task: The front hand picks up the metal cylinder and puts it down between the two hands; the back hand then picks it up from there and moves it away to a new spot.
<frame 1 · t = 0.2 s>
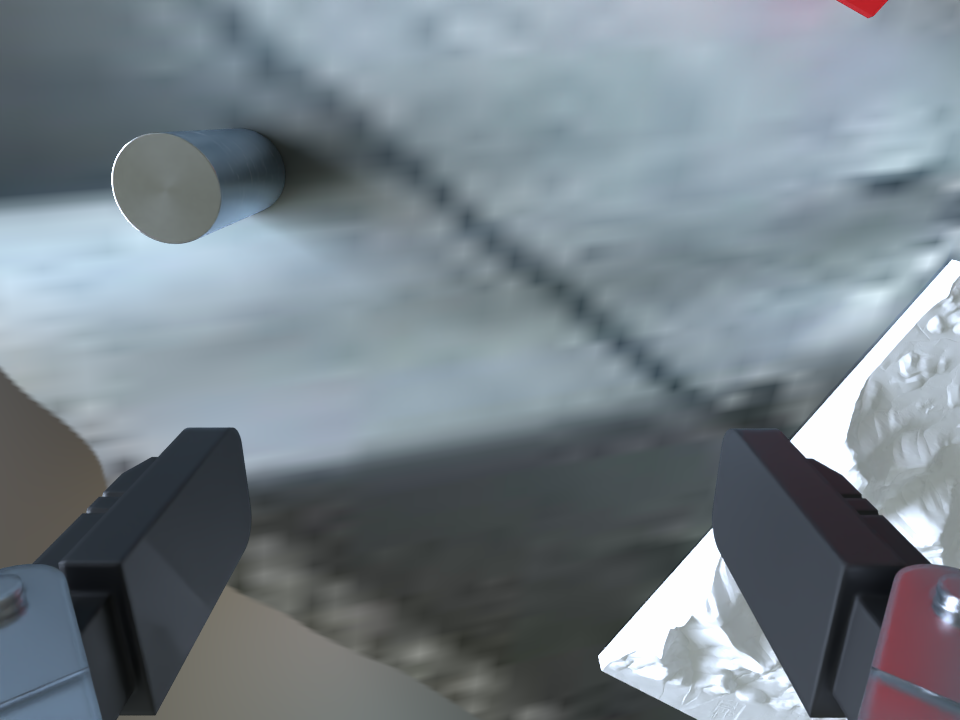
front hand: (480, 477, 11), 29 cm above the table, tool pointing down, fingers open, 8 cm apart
relief map: (902, 570, 46), on the table
metal cylinder: (244, 171, 37), on the table
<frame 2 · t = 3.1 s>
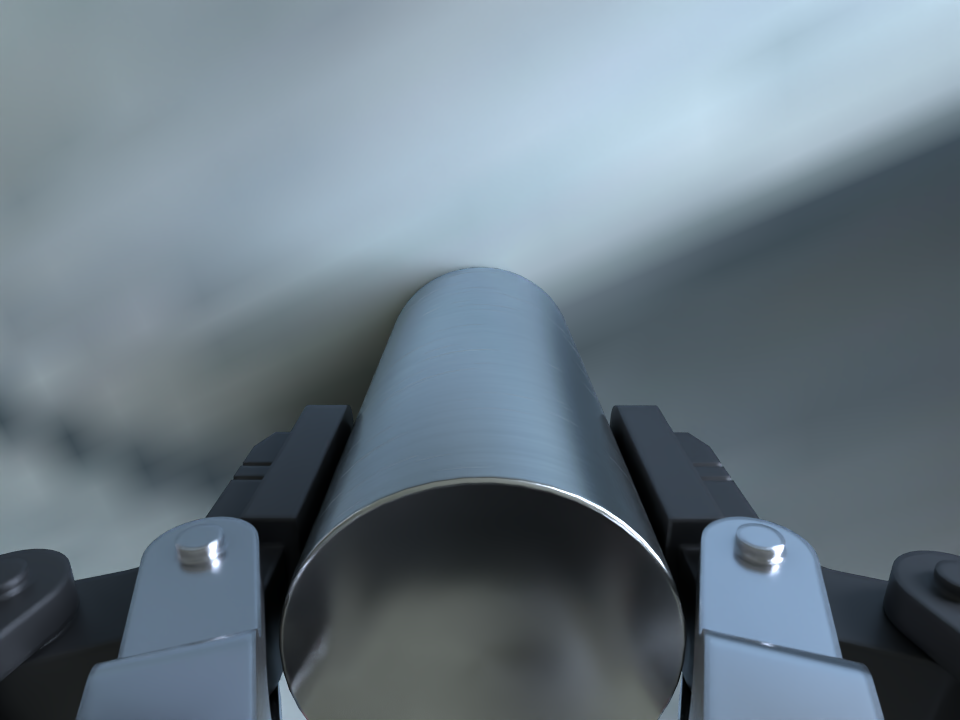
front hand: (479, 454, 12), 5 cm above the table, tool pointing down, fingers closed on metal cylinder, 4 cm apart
metal cylinder: (480, 355, 17), on the table, touching front hand
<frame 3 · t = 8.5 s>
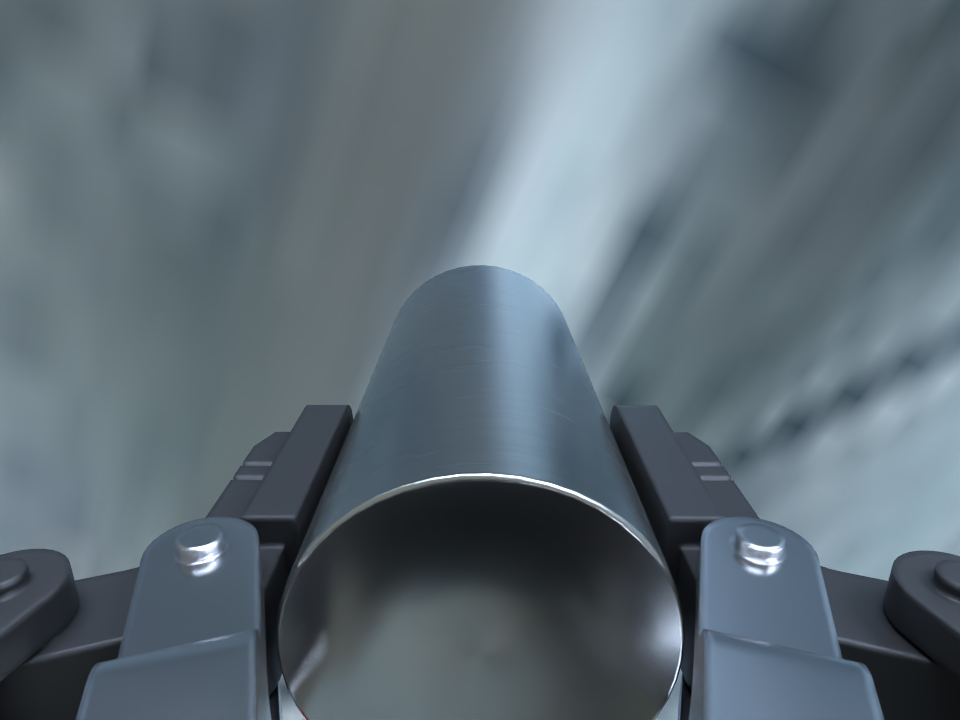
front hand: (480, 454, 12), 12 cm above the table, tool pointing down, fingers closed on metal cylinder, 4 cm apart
metal cylinder: (480, 354, 17), point 7 cm above the table, touching front hand
when the front hand's fingers open (7 cm above the table, at t = 14.0 s): metal cylinder drops 1 cm, on the table.
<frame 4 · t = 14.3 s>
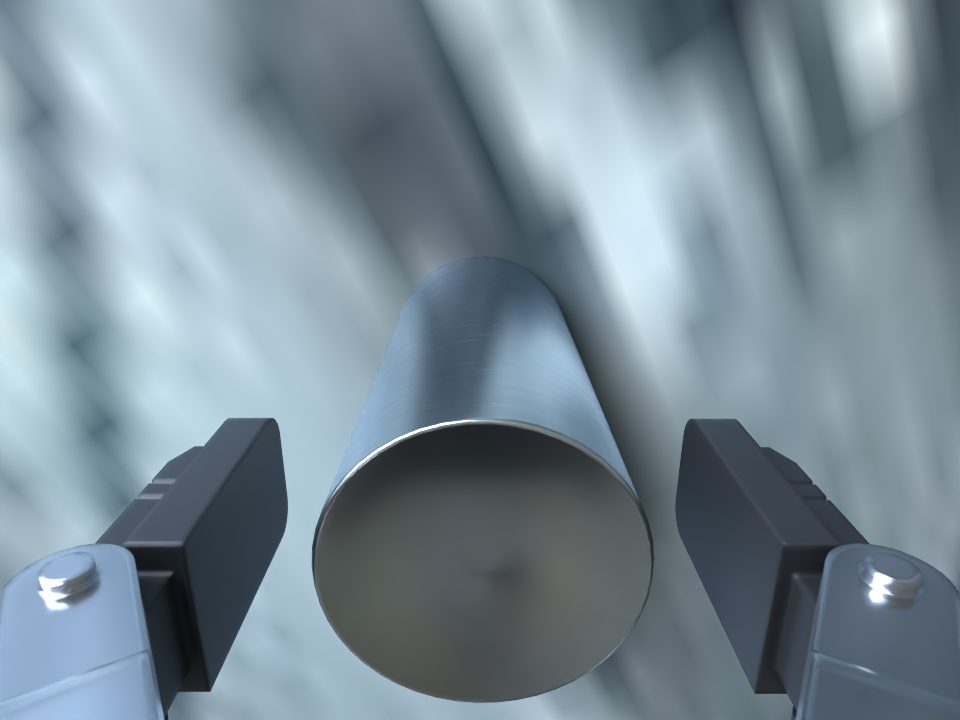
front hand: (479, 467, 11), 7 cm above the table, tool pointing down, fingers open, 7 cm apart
metal cylinder: (481, 339, 18), on the table
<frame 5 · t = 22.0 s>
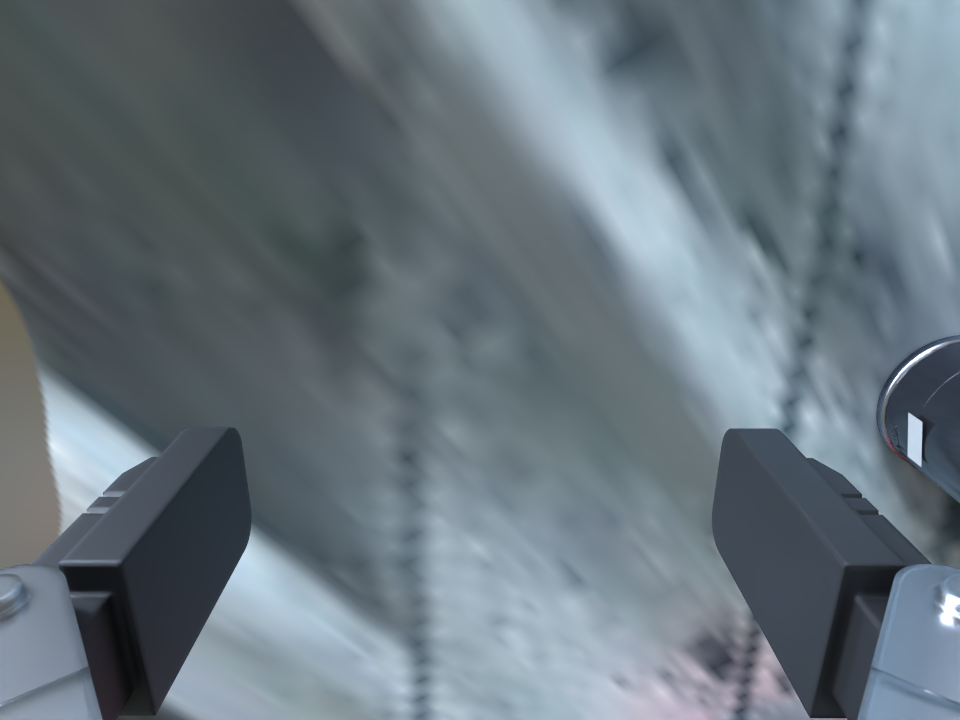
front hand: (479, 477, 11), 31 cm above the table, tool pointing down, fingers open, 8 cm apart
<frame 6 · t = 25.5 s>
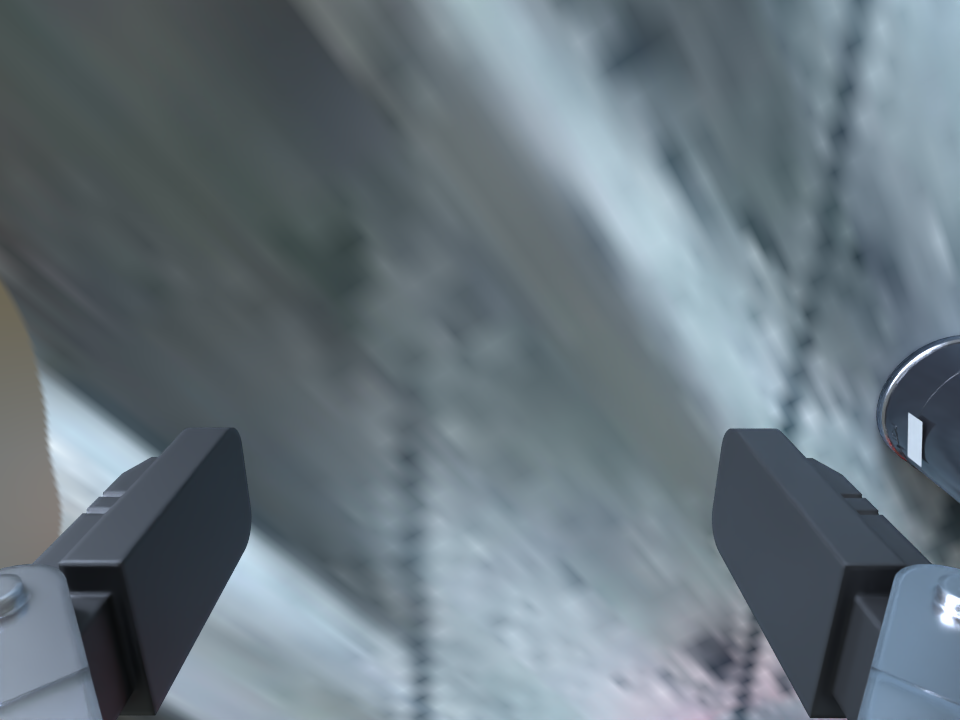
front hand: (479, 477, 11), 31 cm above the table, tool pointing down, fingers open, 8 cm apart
when the back hand's fingers open (6 cm above the table, at t = 29.1 s): metal cylinder drops 1 cm, on the table.
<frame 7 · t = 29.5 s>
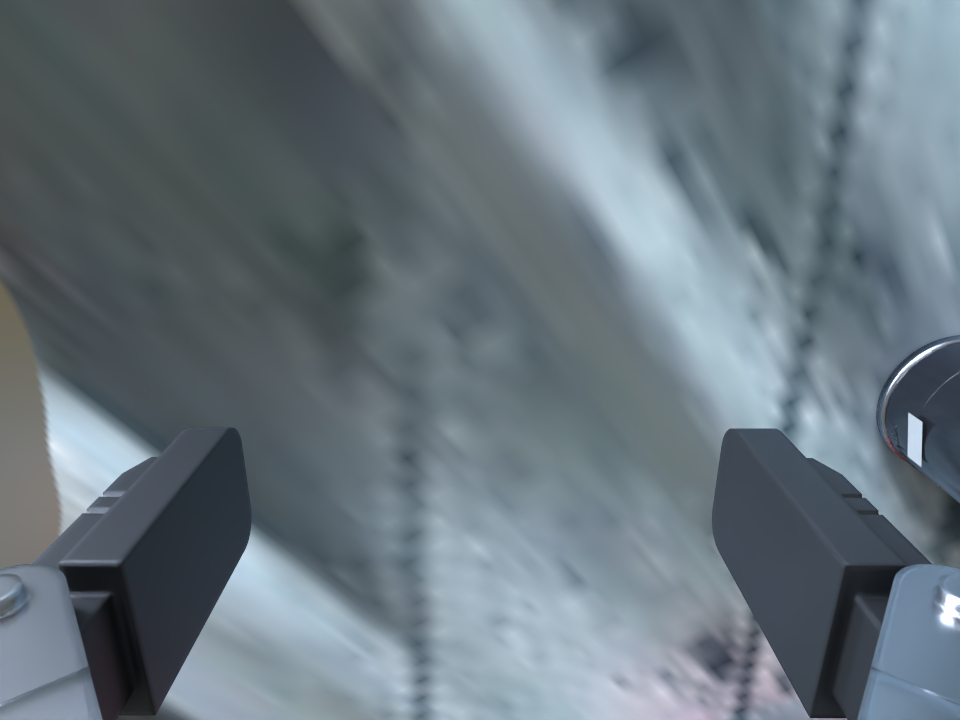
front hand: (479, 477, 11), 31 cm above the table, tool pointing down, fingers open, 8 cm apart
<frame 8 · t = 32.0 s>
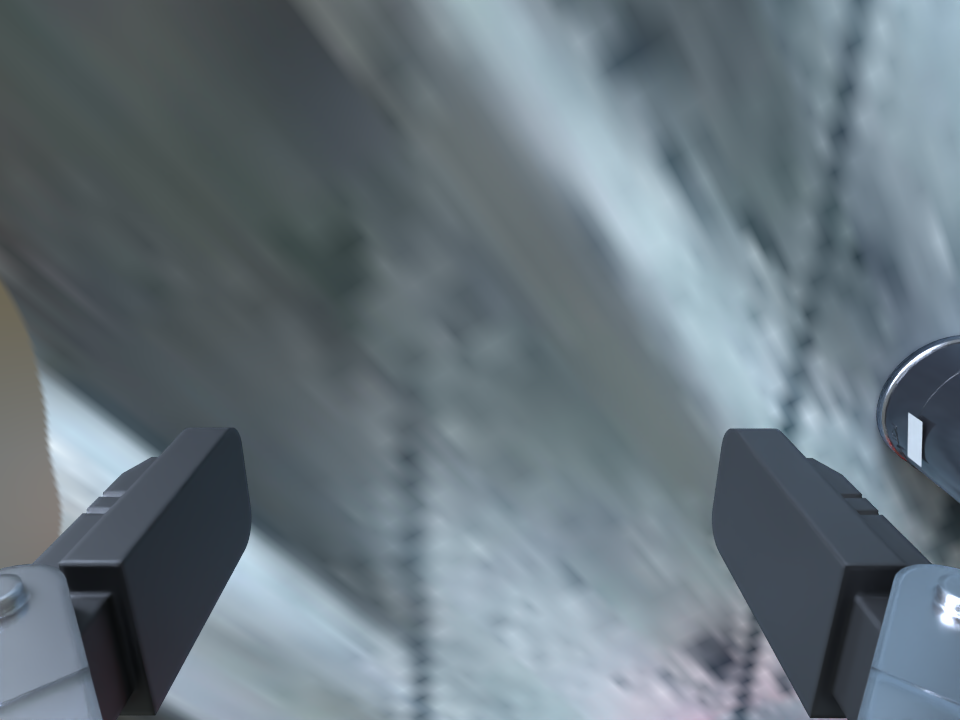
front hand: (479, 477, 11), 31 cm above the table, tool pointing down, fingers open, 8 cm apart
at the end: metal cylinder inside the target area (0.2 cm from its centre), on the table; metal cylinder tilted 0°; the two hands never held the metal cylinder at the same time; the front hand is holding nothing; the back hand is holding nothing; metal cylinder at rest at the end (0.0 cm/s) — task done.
